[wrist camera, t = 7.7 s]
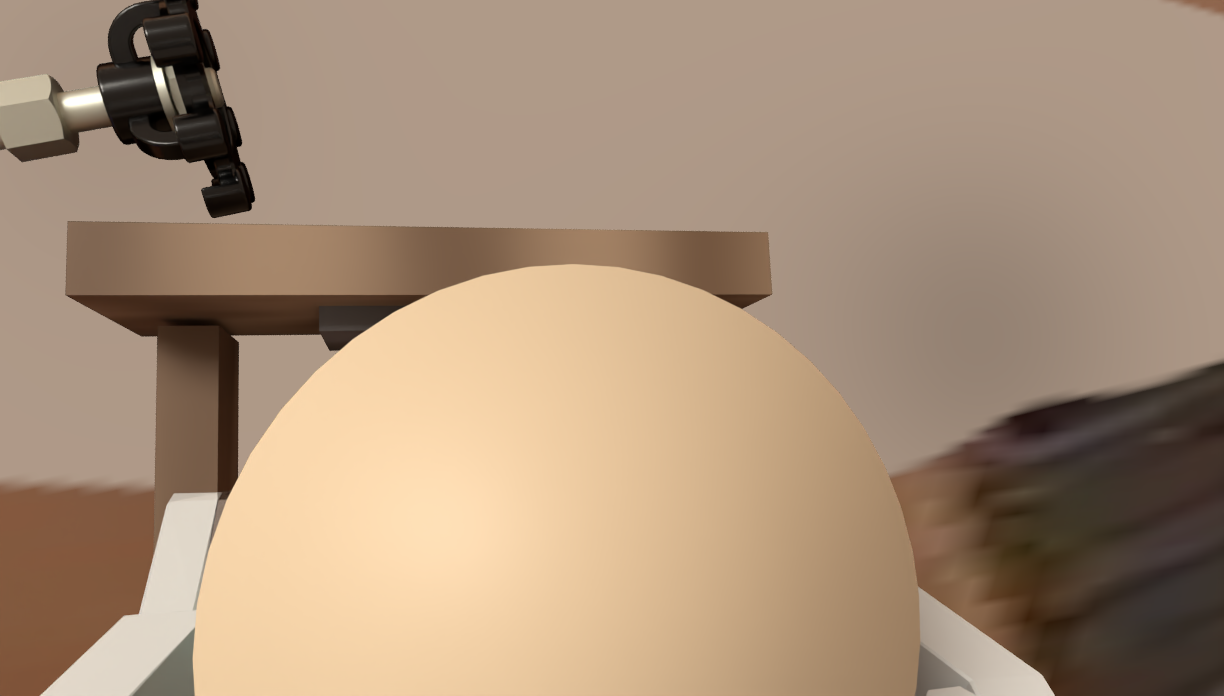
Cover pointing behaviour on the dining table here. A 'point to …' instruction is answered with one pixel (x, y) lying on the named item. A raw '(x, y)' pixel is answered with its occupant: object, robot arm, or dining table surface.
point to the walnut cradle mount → (326, 299)
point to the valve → (140, 103)
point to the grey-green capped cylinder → (562, 510)
